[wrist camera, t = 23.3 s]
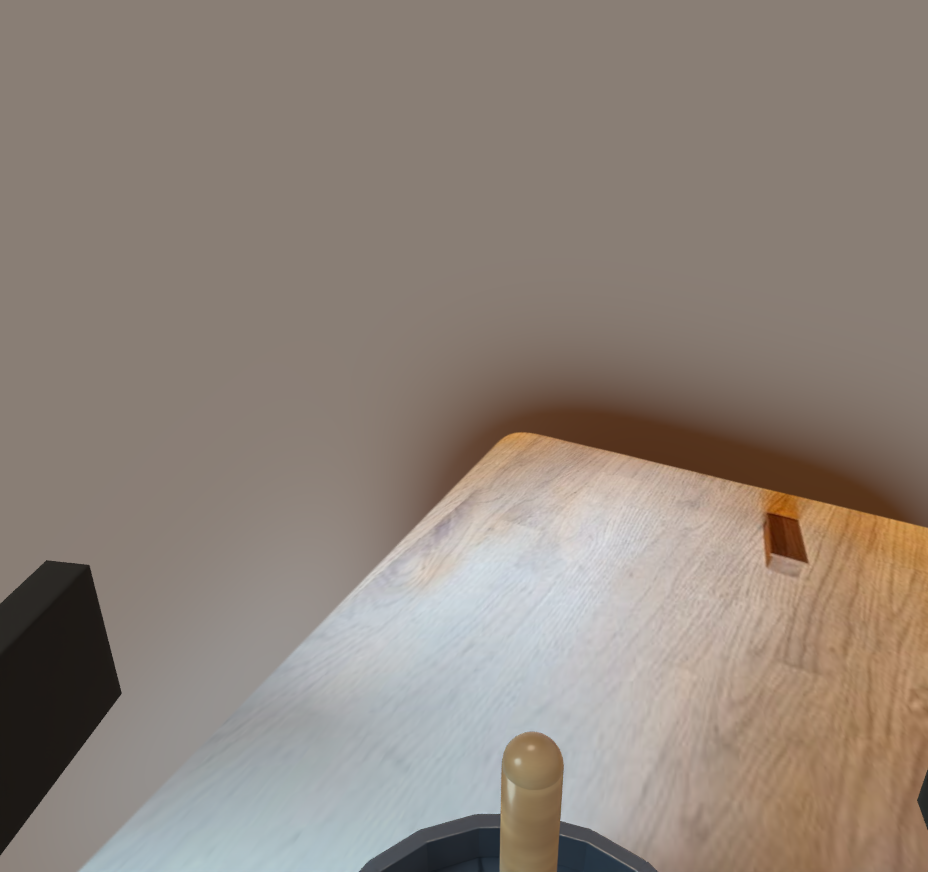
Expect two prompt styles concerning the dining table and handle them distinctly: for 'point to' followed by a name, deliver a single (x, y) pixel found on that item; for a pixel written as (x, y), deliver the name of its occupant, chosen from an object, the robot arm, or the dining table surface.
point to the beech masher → (530, 804)
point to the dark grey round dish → (498, 850)
